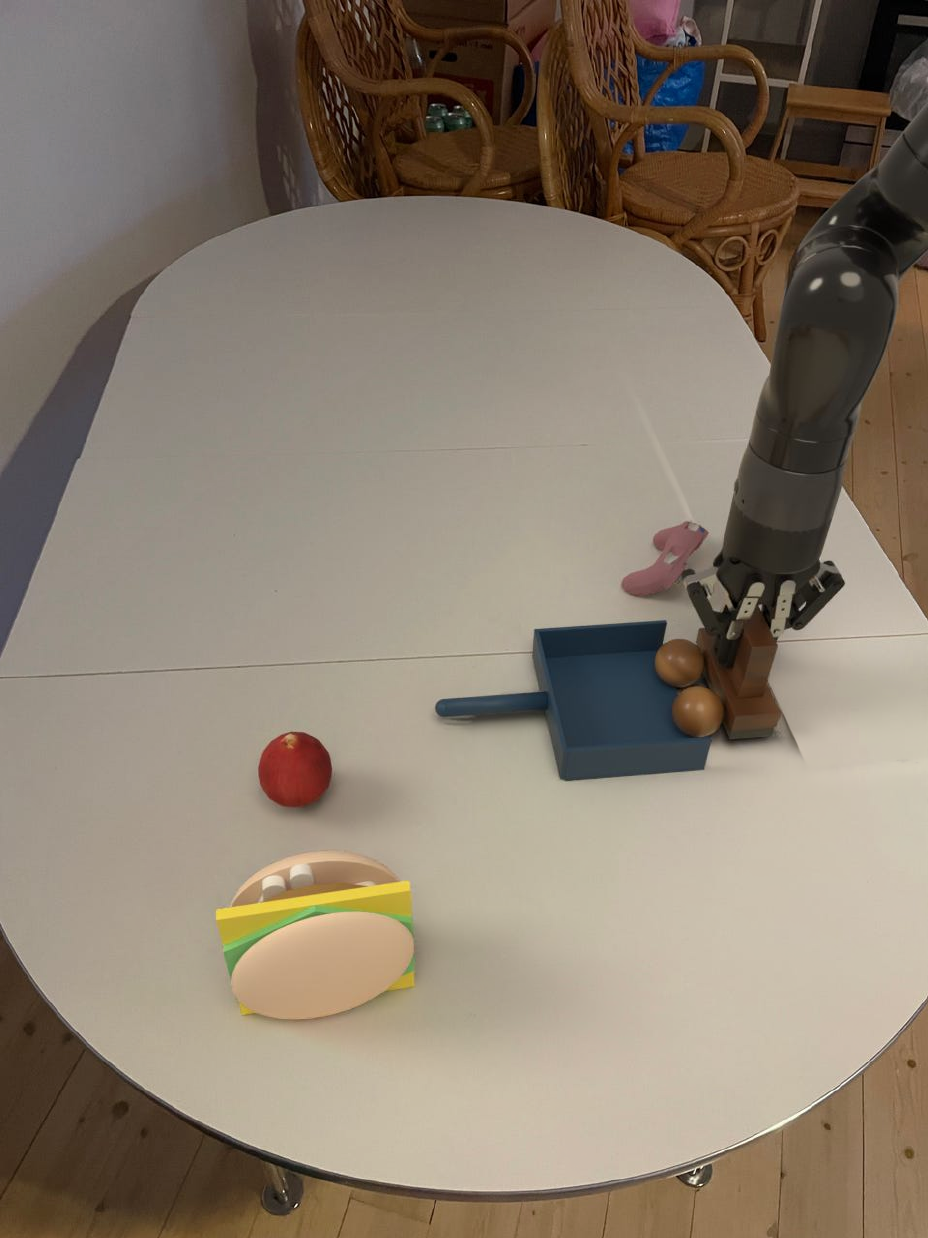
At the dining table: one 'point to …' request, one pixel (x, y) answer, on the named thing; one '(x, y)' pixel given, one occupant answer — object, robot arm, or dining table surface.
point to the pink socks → (667, 559)
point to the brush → (744, 680)
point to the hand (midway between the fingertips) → (740, 660)
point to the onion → (295, 769)
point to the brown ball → (679, 662)
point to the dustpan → (600, 702)
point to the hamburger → (317, 935)
